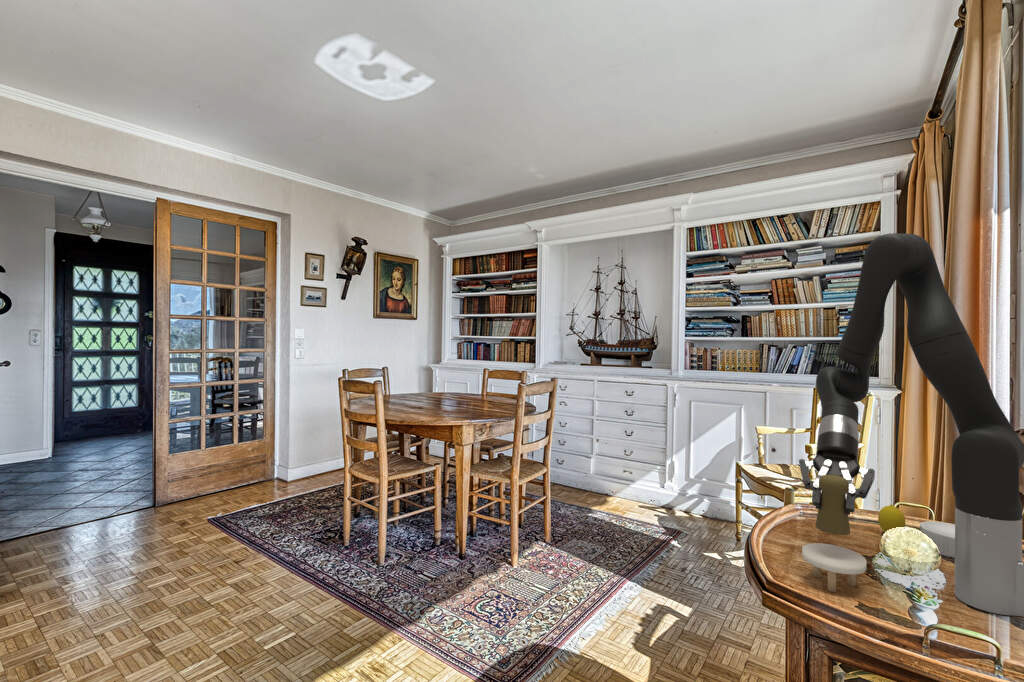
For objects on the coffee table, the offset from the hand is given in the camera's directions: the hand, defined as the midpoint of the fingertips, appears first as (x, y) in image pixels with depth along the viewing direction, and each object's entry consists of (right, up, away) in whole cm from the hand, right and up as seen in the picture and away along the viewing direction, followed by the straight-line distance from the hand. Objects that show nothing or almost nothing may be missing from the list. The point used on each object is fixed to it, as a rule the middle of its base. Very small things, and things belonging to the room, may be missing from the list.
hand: (832, 509), depth 100 cm
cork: (+1, -5, +2) cm, 5 cm away
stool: (+1, -16, +1) cm, 16 cm away
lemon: (+32, -16, +27) cm, 45 cm away
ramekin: (+39, -16, +18) cm, 46 cm away
